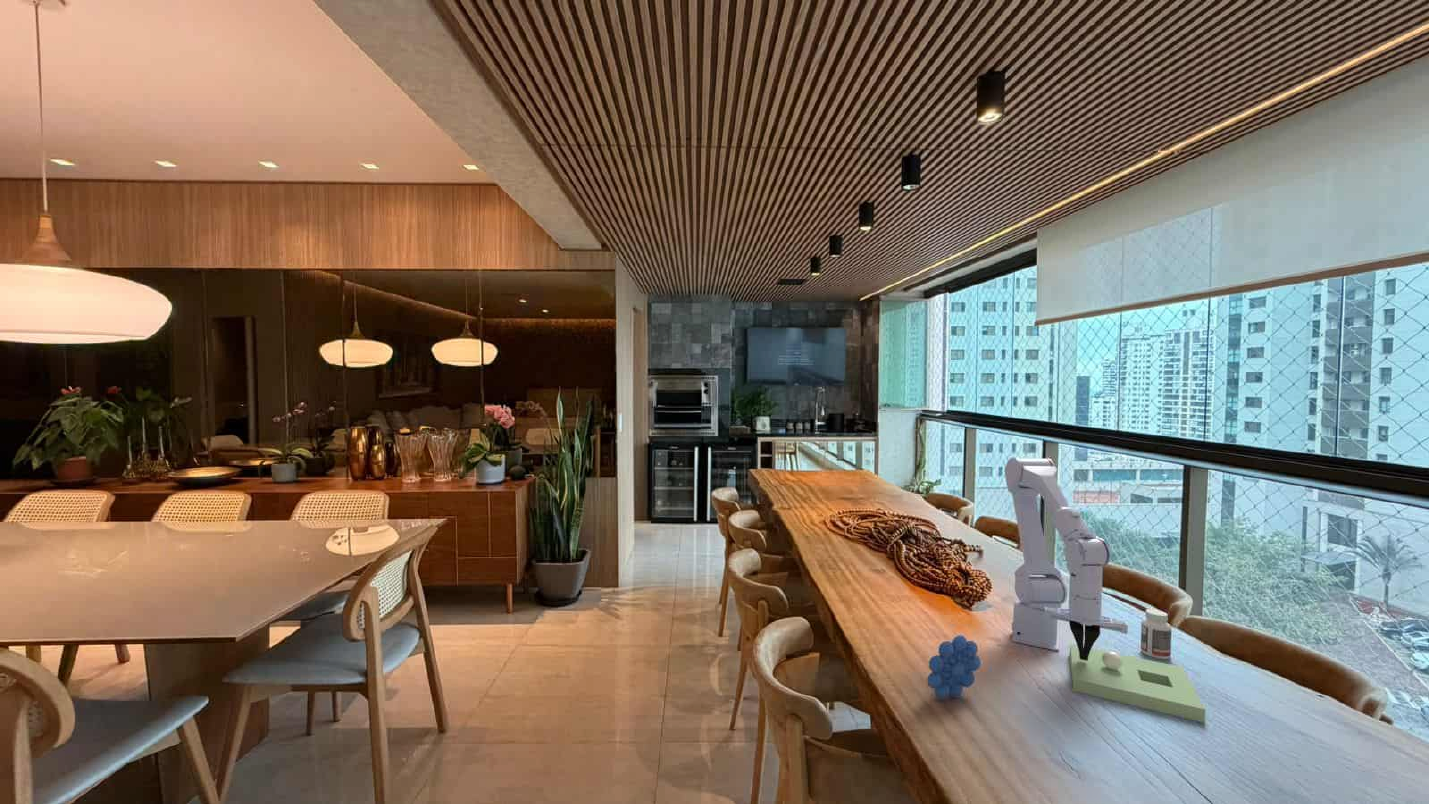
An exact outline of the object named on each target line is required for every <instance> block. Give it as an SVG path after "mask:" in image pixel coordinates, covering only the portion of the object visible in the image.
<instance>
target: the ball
mask: <svg viewBox="0 0 1429 804" xmlns="http://www.w3.org/2000/svg"><path fill="white" fill-rule="evenodd" d="M1118 654H1119V653H1117V652H1115V651H1110V650H1107V652H1105V653H1104V654H1103V655H1102V661H1103V663H1104V665H1105V666H1106V667H1107V668H1109V669H1112V670H1118V669H1120V668H1121V667H1122V664H1123V662H1122V659H1121V657H1120V656H1119V655H1118Z"/></svg>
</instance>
